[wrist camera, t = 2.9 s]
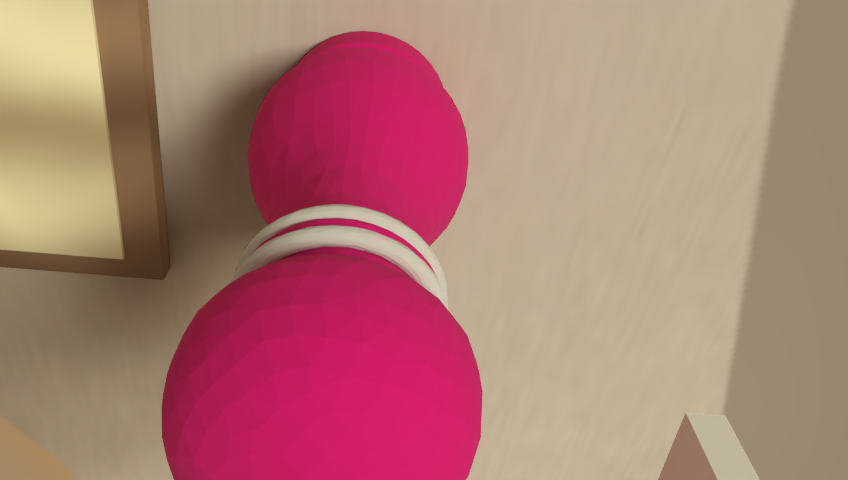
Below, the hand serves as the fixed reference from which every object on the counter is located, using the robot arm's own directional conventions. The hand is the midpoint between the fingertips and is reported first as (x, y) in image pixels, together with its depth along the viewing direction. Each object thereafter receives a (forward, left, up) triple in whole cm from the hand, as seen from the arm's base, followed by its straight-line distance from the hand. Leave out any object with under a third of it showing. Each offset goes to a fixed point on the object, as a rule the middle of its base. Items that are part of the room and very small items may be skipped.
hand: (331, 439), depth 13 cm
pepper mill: (0, 0, -17) cm, 17 cm away
